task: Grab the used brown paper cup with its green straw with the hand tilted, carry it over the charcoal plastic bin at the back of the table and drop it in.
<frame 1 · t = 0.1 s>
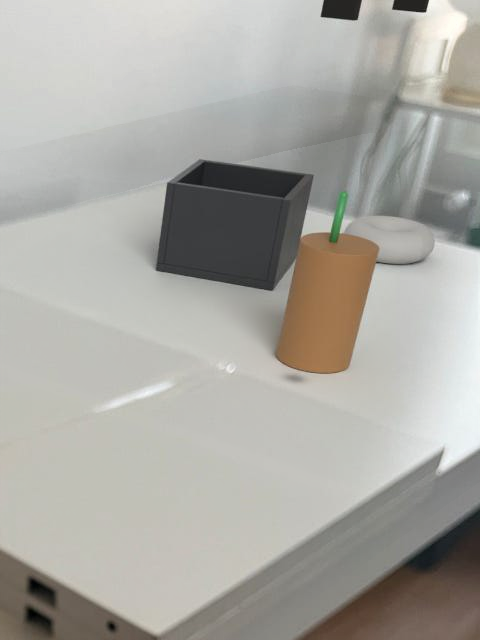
hand: (375, 15, 83), 25 cm above the table, tool pointing down, fingers open, 13 cm apart
bin: (227, 264, 112), on the table
donut: (384, 256, 118), on the table
paper cup: (312, 359, 91), on the table
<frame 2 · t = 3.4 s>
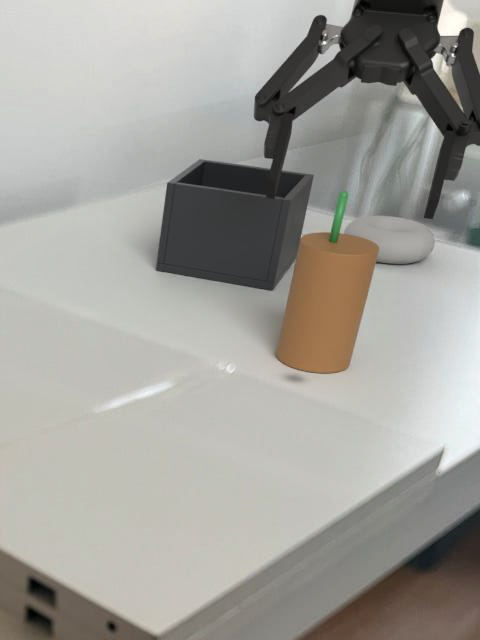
hand: (349, 200, 90), 12 cm above the table, tool tilted 45°, fingers open, 13 cm apart
nothing on the table moved.
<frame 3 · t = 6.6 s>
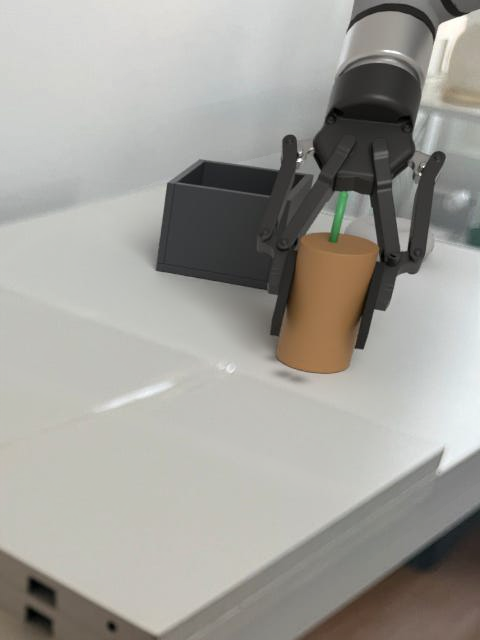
hand: (317, 334, 86), 3 cm above the table, tool tilted 45°, fingers closed on paper cup, 6 cm apart
paper cup: (312, 359, 91), on the table, touching gripper
everything else where it was.
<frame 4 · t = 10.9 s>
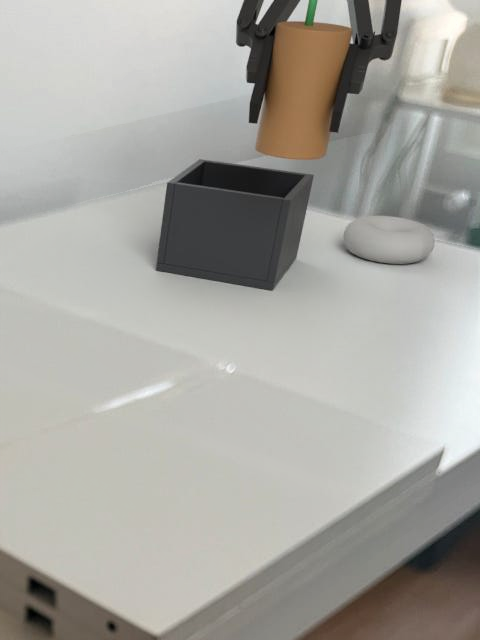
hand: (294, 117, 90), 17 cm above the table, tool tilted 45°, fingers closed on paper cup, 6 cm apart
paper cup: (290, 151, 95), point 14 cm above the table, touching gripper
everything else where it was.
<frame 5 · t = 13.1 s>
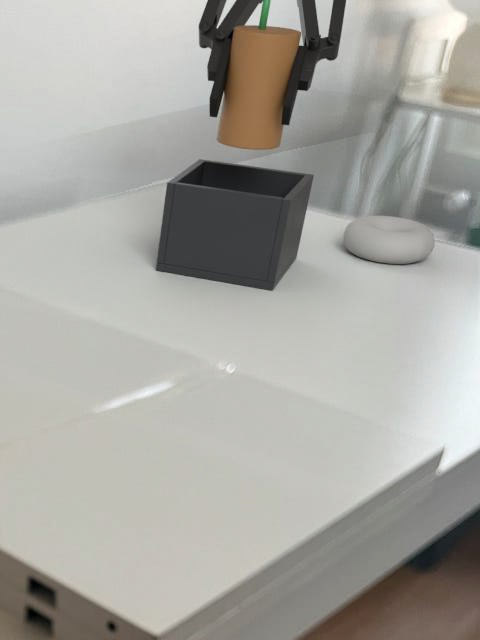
hand: (249, 111, 100), 16 cm above the table, tool tilted 45°, fingers closed on paper cup, 6 cm apart
paper cup: (248, 142, 105), point 12 cm above the table, touching gripper
everything else where it was.
when the fingers open (10 cm above the table, at t = 15.1 s): paper cup drops 6 cm, resting on bin.
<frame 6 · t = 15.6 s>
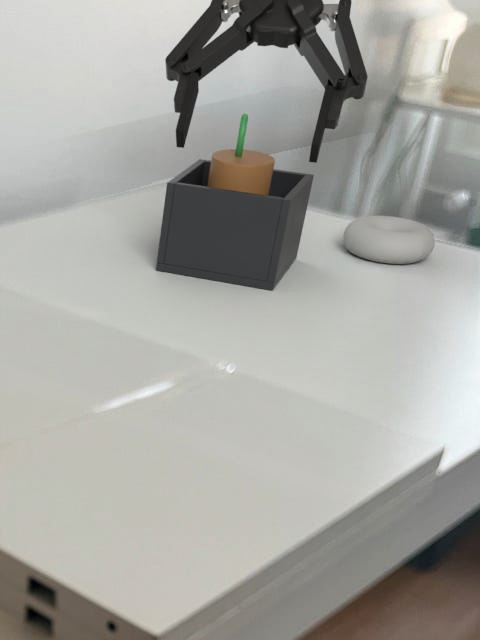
hand: (245, 146, 103), 12 cm above the table, tool tilted 45°, fingers open, 13 cm apart
paper cup: (227, 255, 112), point 1 cm above the table, touching bin
everything else where it was.
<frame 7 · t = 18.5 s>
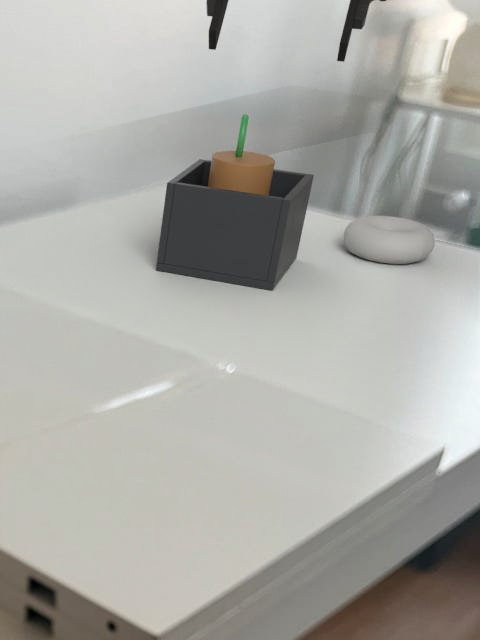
hand: (276, 46, 109), 20 cm above the table, tool tilted 45°, fingers open, 13 cm apart
nothing on the table moved.
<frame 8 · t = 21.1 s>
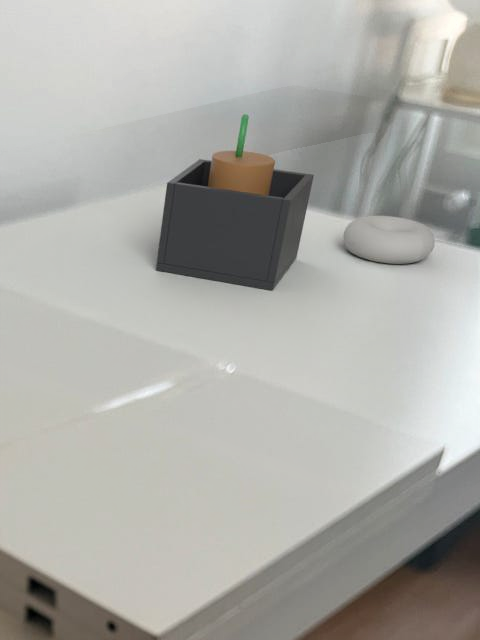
nothing on the table moved.
at the end: paper cup inside the target area in the bin (0.2 cm from its centre), point 0.8 cm above the bin's base; the gripper is holding nothing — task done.
